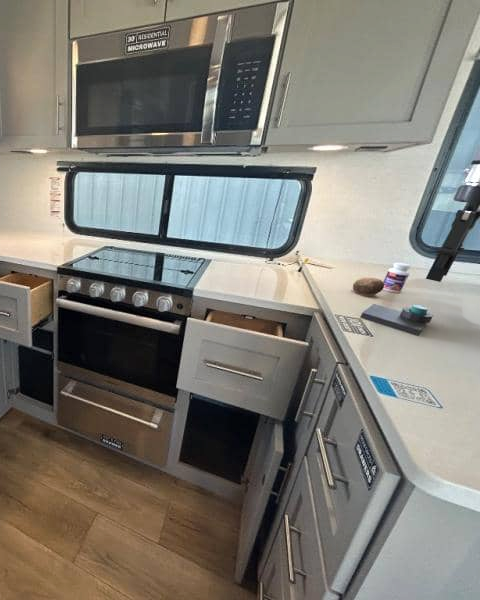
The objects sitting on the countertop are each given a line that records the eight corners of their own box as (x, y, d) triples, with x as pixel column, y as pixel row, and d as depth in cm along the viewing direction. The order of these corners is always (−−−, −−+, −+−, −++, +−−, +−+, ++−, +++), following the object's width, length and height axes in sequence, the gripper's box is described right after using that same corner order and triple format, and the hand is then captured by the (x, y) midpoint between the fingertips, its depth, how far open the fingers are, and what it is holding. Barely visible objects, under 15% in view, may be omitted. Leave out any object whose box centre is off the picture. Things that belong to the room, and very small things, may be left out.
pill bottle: (379, 289, 116) (391, 263, 112) (381, 286, 120) (393, 260, 116) (399, 294, 112) (412, 267, 109) (401, 291, 116) (414, 264, 112)
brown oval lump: (384, 284, 110) (380, 270, 108) (388, 300, 105) (385, 285, 103) (353, 289, 116) (350, 276, 113) (356, 304, 111) (352, 290, 108)
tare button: (425, 314, 89) (428, 308, 88) (423, 316, 87) (427, 310, 86) (411, 309, 91) (414, 304, 90) (408, 312, 89) (411, 306, 88)
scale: (428, 325, 90) (434, 313, 88) (420, 337, 83) (426, 324, 81) (371, 308, 99) (376, 297, 97) (359, 318, 91) (364, 306, 90)
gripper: (465, 184, 85) (423, 267, 94) (455, 183, 72) (408, 279, 81) (510, 187, 80) (461, 275, 89) (507, 186, 67) (451, 289, 76)
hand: (436, 277), depth 85 cm, fingers open, 9 cm apart
